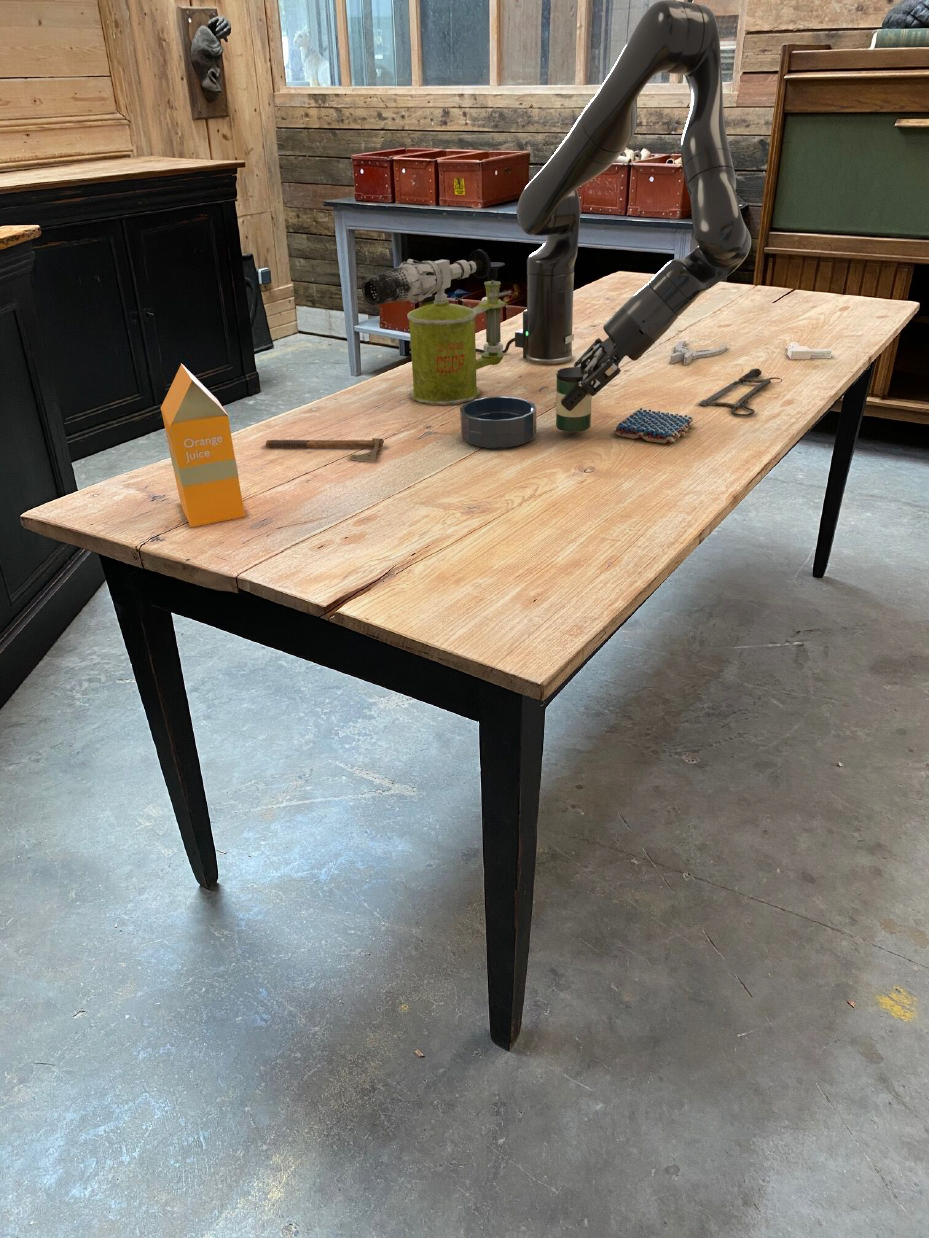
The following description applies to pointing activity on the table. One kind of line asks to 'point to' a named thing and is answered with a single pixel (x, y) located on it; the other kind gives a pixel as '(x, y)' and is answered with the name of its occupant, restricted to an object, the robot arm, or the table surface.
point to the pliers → (688, 355)
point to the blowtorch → (443, 324)
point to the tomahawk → (367, 457)
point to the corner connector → (806, 352)
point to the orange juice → (201, 452)
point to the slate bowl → (498, 422)
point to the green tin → (581, 412)
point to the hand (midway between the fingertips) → (562, 400)
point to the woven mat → (654, 426)
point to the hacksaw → (744, 399)
